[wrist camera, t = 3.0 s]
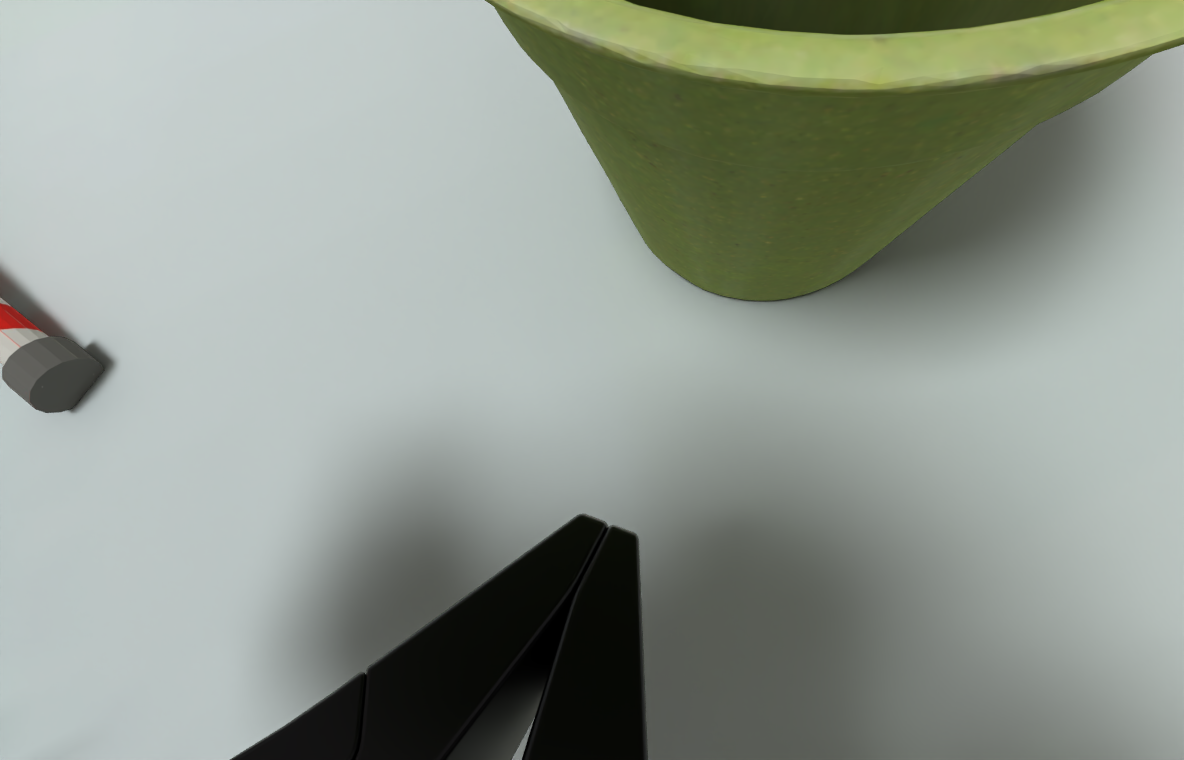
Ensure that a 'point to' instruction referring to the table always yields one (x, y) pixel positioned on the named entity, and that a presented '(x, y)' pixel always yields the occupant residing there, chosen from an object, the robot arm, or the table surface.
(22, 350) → the toy hammer
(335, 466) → the table surface
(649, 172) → the plant pot
